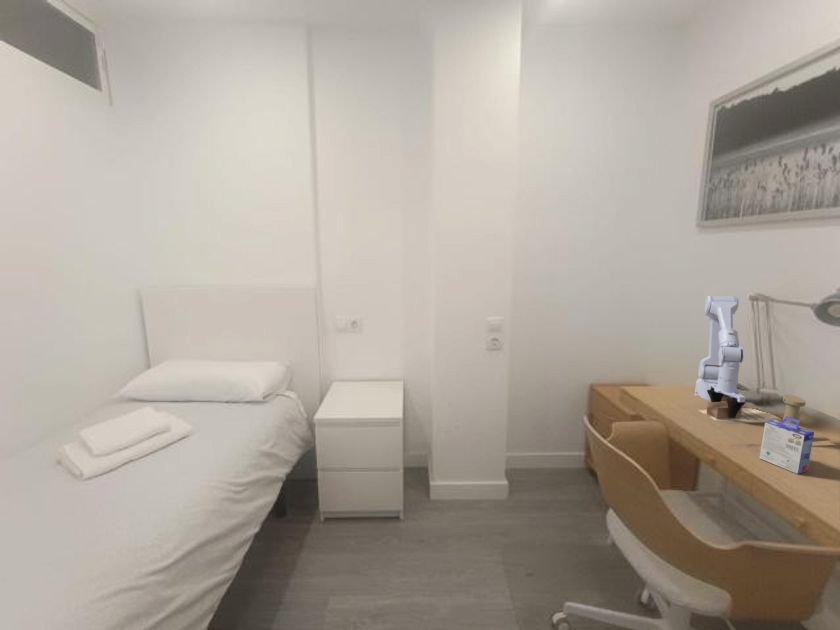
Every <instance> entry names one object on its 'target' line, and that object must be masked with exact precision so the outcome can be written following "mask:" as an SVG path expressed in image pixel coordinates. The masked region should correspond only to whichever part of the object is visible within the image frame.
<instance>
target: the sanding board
mask: <svg viewBox="0 0 840 630" xmlns="http://www.w3.org/2000/svg"><path fill="white" fill-rule="evenodd" d="M752 408H753V407H742V410H741V418H739V419H715V418H713V417H712V416H710V415H708V414H706V413H707V409H697V411H698V412H700V413H702V414H704V415H705V416H707V417H708V418H710V419H712V420H714V421H716V422H717V423H719V424H721V425H728V424H731V425H732V424H749V423H750V424H751V423H765V422H768V421H771V420H777V421H781V422H783V418H780V417H778V416H776V415H774V414H772V413H770V412H768V413H766V412H767V411H766V412H762V411H759V410H756V409H752Z"/></svg>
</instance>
